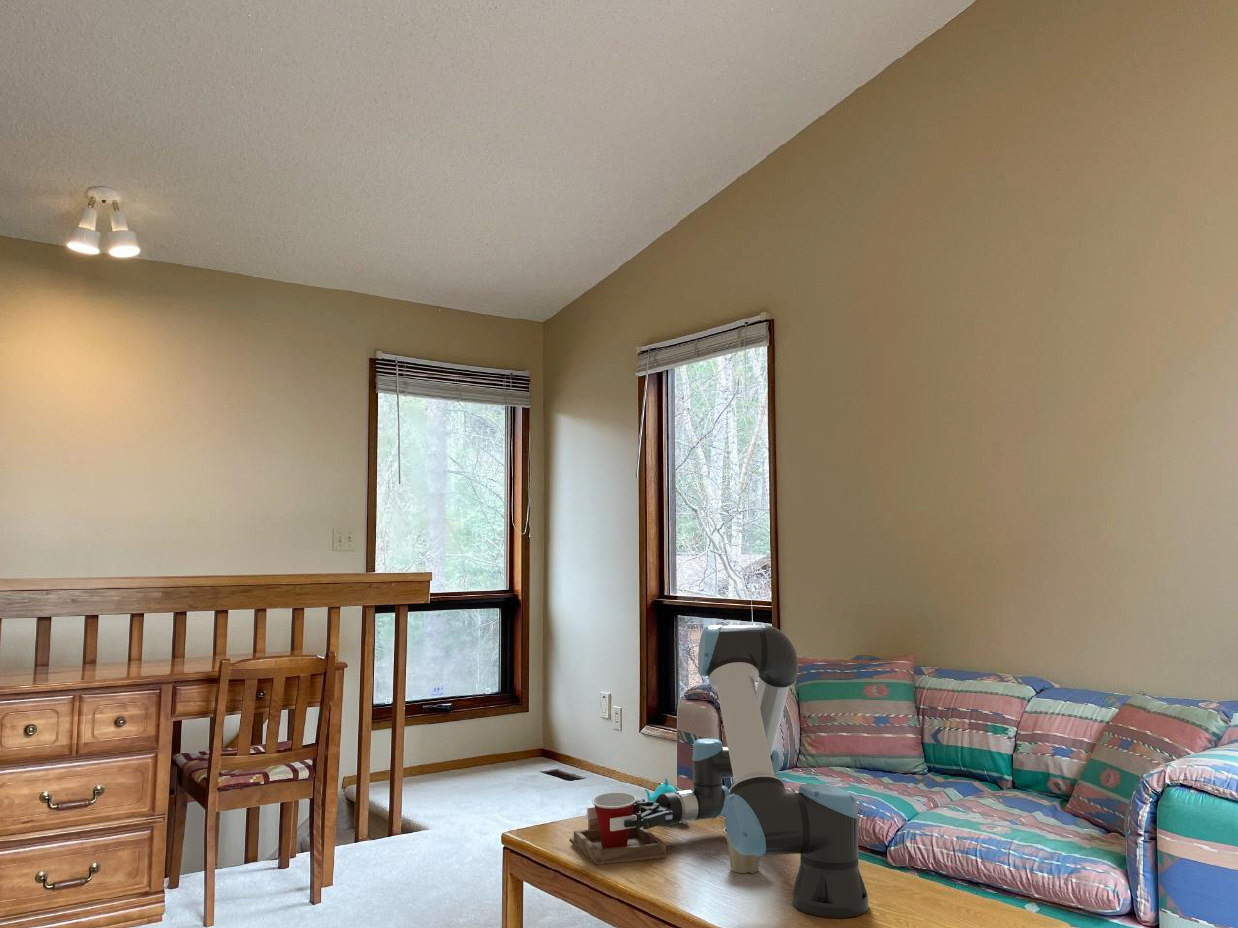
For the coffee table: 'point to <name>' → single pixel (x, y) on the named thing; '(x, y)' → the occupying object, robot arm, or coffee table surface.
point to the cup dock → (637, 847)
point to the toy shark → (660, 791)
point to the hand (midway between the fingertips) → (598, 818)
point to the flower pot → (741, 859)
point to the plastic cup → (613, 816)
